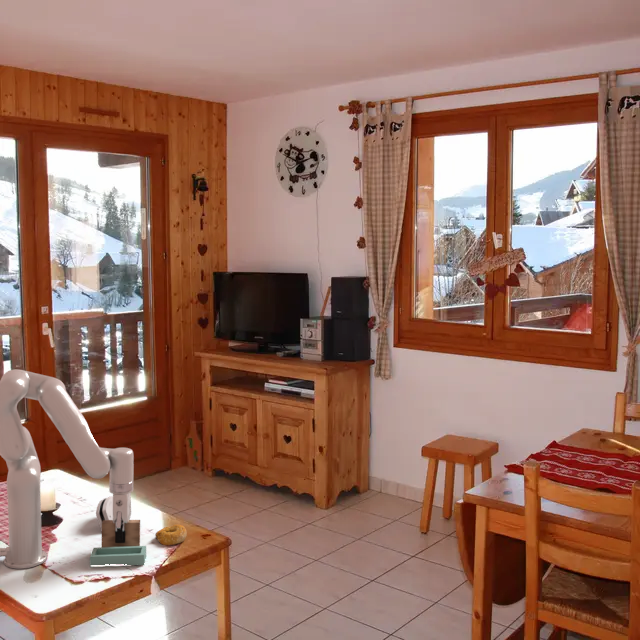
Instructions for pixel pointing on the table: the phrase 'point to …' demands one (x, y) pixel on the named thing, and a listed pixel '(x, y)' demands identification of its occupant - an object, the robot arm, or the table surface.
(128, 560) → the green rectangular tray
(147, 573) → the table surface
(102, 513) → the white curved piece
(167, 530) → the bagel
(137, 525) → the brown wooden board
